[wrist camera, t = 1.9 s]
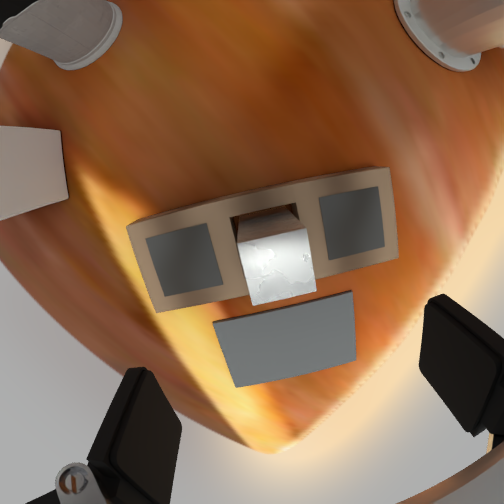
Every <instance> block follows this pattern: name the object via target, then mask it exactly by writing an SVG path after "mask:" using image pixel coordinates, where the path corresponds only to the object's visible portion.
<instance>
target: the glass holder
mask: <svg viewBox="0 0 504 504" xmlns="http://www.w3.org/2000/svg"><path fill="white" fill-rule="evenodd" d="M121 25H122V12H121V10H120V8H119V7H118V6H117V5H116V4H114V3H112V2H108V1H106V0H0V38H1V39H4V40H7V41H9V42H12V43H14V44H17V45H20V46H22V47H25V48H27V49H29V50H32V51H34V52H37V53H39V54H41V55H44V56H46V57H48V58H50V59H53V60H54V61H55V63H56V65H58V66H59V67H60V68H62V69H64V70H76V69H80V68H83V67H85V66H87V65H89V64H91V63H93V62H94V61H95V60H97V59H98V58H99V57H101V56H102V55H103V54H104V53H105V52H106V51H107V50H108V49H109V47H110V46H111V45H112V44H113V42H114V41H115V39H116V37H117V36H118V34H119V31H120V29H121Z"/></svg>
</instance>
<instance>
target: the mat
mask: <svg viewBox="0 0 504 504" xmlns="http://www.w3.org/2000/svg"><path fill="white" fill-rule="evenodd" d="M213 326H214V329H215V332H216V335H217V338H218V340H219V343H220V346H221V349H222V352H223V354H224V357H225V360H226V363H227V365H228V368H229V371H230V374H231V376H232V379H233V381H234V384H235V387H236V388H237V387H243V386H249V385H255V384H260V383H266V382H271V381H276V380H281V379H285V378H290V377H295V376H299V375H303V374H307V373H311V372H315V371H319V370H323V369H327V368H331V367H334V366H338V365H342V364H345V363H348V362H352V361H355V360H356V340H355V320H354V306H353V293H352V291H351V290H350V291H346V292H342V293H339V294H335V295H331V296H327V297H323V298H319V299H315V300H311V301H307V302H303V303H298V304H294V305H290V306H286V307H281V308H277V309H272V310H268V311H263V312H259V313H254V314H249V315H244V316H239V317H234V318H229V319H224V320H219V321H214V322H213Z"/></svg>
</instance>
